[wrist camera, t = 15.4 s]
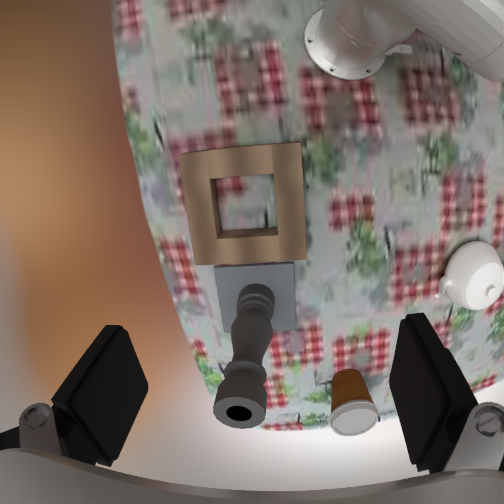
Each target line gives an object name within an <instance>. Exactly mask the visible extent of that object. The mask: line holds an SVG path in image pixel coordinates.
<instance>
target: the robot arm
mask: <svg viewBox="0 0 504 504" xmlns="http://www.w3.org/2000/svg"><path fill="white" fill-rule="evenodd" d="M416 29H418V30H419V31H421V32H423V33H425V34H426V35H428V36H429V37H431V38H432V39H433V40H435V41H436V42H438V43H439V44H440V45H442V46H443V47H444V48H446V49H447V50H448V51H450V52H451V53H452V54H453V55H455V56H456V57H457V58H458V59H460V60H461V61H462V62H463V63H465V64H466V65H467V66H468V67H470V68H471V69H472V70H474V71H475V72H476V73H477V74H479V75H480V76H482V77H484V78H486V79H488V80H491V81H495V82H504V0H327V1H326V4H325V7H324V8H323V9H321V10H319V11H318V12H316V13H315V14H314V15H313V16H312V17H311V18H310V19H309V21H308V23H307V25H306V28H305V32H304V45H305V48H306V51H307V53H308V55H309V57H310V59H311V60H312V61H313V63H314V64H315V65H316V66H317V67H318V68H319V69H320V70H322V71H323V72H325V73H326V74H328V75H330V76H333V77H335V78H338V79H342V80H350V81H351V80H360V79H364V78H367V77H369V76H371V75H372V74H374V73H376V72H377V71H378V70H379V69H380V68H381V66H382V65H383V63H384V61H385V59H386V56H387V55H388V56H392V54H399V55H405V56H411V55H412V47H411V45H410V44H403V43H402V42H403V41H404V40H406V39H407V38H409V37H410V36H411V35H412V34H413V33H414V31H415V30H416ZM308 41H311V43H308ZM330 69H332V70H333V72H331V71H330ZM366 70H368V71H369V73H367V72H366ZM389 385H390V389H391V393H392V396H393V399H394V403H395V406H396V409H397V413H398V416H399V420H400V423H401V427H402V431H403V434H404V438H405V442H406V446H407V450H408V454H409V457H410V461H411V463H412V464H413V465H414V464H416V466H417V469H418V472H420V471H424V470H428V469H429V472H430V474H428V475H424V476H418V477H412V478H408V479H402V480H397V481H391V482H385V483H378V484H371V485H363V486H355V487H347V488H337V489H325V490H310V491H244V490H227V489H216V488H206V487H197V486H190V485H182V484H176V483H169V482H163V481H158V480H153V479H147V478H143V477H138V476H133V475H129V474H125V473H121V472H117V471H113V470H109V469H105V468H101V467H98V466H95V464H96V462H97V463H98V464H101V465H105V466H108V467H111V465H112V463H113V461H114V460H116V459H117V458H118V457H119V454H120V452H121V450H122V448H123V445H124V443H125V441H126V438H127V436H128V434H129V432H130V430H131V427H132V425H133V423H134V421H135V418H136V416H137V414H138V412H139V410H140V407H141V405H142V403H143V401H144V399H145V396H146V394H147V392H148V382H147V380H146V377H145V375H144V373H143V370H142V368H141V365H140V363H139V360H138V358H137V355H136V353H135V350H134V347H133V345H132V342H131V339H130V337H129V334H128V332H127V331H126V330H124V328H123V327H122V326H120V325H106V326H105V327H104V328H103V330H102V331H101V332H100V333H99V335H98V336H97V337H96V339H95V340H94V341H93V343H92V344H91V345H90V346H89V348H88V349H87V350H86V352H85V353H84V354H83V356H82V357H81V358H80V360H79V361H78V362H77V364H76V366H75V367H74V368H73V370H72V371H71V372H70V374H69V375H68V376H67V378H66V379H65V380H64V382H63V383H62V385H61V386H60V387H59V389H58V391H57V392H56V393H55V395H54V396H53V397H52V399H51V401H52V402H53V404H54V405H53V406H52V408H51V407H50V406H49V405H48V404H45V403H36V404H33V405H31V406H29V407H28V408H26V409H25V410H24V411H23V412H22V414H21V416H20V418H19V426H18V427H15V428H13V429H10V430H8V431H5V432H2V433H0V504H504V407H503V406H501V405H499V404H497V403H493V402H485V403H481V404H478V402H477V400H476V398H475V396H474V394H473V392H472V390H471V388H470V386H469V384H468V383H467V381H466V379H465V377H464V375H463V373H462V371H461V370H460V368H459V366H458V364H457V362H456V361H455V359H454V357H453V355H452V354H451V352H450V351H449V349H447V348H444V346H443V344H442V342H441V341H440V339H439V337H438V336H437V334H436V332H435V330H434V329H433V327H432V325H431V324H430V322H429V320H428V319H427V317H426V316H425V314H424V313H415V314H407V315H406V317H405V319H402V320H401V322H400V327H399V333H398V338H397V344H396V349H395V354H394V359H393V364H392V369H391V373H390V378H389Z"/></svg>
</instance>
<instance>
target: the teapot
mask: <svg viewBox="0 0 504 504" xmlns="http://www.w3.org/2000/svg"><path fill="white" fill-rule="evenodd" d="M503 287H504V267H503V265H502V262H501V260H500V258H499V256H498V254H497V252H496V251H495V249H494V248H493V247H492V246H491V245H489V244H487V243H485V242H482V241H473V242H469V243H467V244H465V245H463V246H462V247H460V248H459V249H458V250H457V251H456V252H455V253H454V254H453V256H452V257H451V259H450V260H449V262H448V265H447V267H446V271H445V275H444V276H443V277H442V278H441V279H440V281H439V292H438V293H437V294H436V295H435V297H436V298H442V297H443V296H444V294H445V289H446V292H447V294H448V296H449V298H450V299H451V300H452V301H453V302H455V303H456V304H458V305H460V306H462V307H465V308H467V309H471V310H481V309H485V308H487V307H489V306H490V305H491V304H493V303H494V302H495V301H496V299H497V298H498V297H499V295H500V294H501V292H502V289H503Z"/></svg>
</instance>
